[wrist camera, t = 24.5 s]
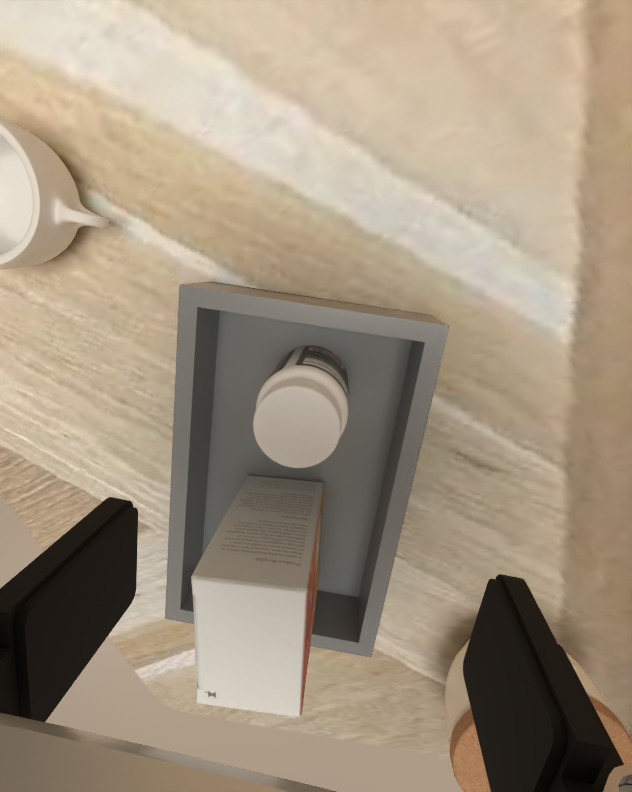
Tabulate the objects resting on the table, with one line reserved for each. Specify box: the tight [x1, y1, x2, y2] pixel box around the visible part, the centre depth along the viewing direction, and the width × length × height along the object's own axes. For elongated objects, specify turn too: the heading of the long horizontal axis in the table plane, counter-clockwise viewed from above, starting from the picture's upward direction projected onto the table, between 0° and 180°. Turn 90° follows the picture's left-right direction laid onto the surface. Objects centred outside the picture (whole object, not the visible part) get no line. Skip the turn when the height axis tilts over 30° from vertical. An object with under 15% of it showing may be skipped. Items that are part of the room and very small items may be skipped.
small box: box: [191, 475, 324, 717], centre depth 25 cm, size 8×6×10 cm
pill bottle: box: [253, 346, 349, 468], centre depth 23 cm, size 5×5×8 cm
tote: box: [165, 282, 449, 657], centre depth 27 cm, size 14×22×5 cm, turn 172°
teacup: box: [0, 117, 109, 269], centre depth 24 cm, size 10×8×5 cm
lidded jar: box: [445, 637, 632, 792], centre depth 29 cm, size 11×11×9 cm
